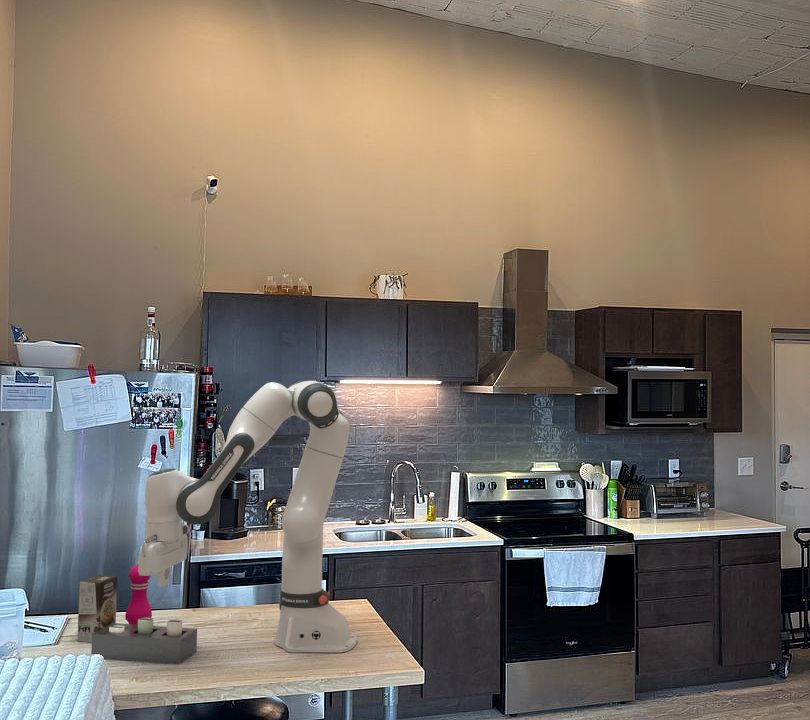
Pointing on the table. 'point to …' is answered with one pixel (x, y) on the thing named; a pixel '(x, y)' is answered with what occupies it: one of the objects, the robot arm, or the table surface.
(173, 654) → the grey rectangular holder block
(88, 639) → the brown food box
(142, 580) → the pepper mill
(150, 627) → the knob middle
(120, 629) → the small cream cup
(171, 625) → the cream white small cup
